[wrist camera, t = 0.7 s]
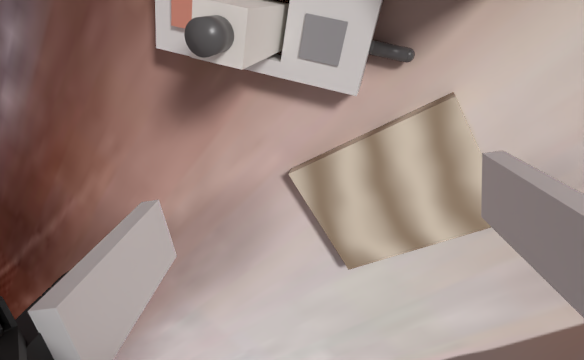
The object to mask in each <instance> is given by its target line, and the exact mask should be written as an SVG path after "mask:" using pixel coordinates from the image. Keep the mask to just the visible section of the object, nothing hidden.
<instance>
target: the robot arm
mask: <svg viewBox="0 0 584 360" xmlns="http://www.w3.org/2000/svg"><path fill="white" fill-rule="evenodd" d="M481 217H482V218H483V219H484V220H485V221H486V222H487V223H488V224H489V225H490V226H491V227H492V228H493V229H494V230H495V231H496V232H497V233H498V234H499V235H500V236H501V237H502V238H503V239H504V240H505V241H506V242H507V243H508V244H509V245H510V246H511V247H512V248H513V249H514V250H515V251H516V252H517V253H518V254H519V255H520V256H521V257H523V258H524V259H525V260H526V261H527V262H528V263H529V264H530V265H531V266H532V267H533V268H534V269H535V270H536V271H537V272H538V273H539V274H540V275H541V276H542V277H543V278H544V279H545V280H546V281H547V282H548V283H549V284H550V285H551V286H552V287H553V288H554V289H555V290H556V291H557V292H558V293H559V294H560V295H561V296H562V297H563V298H564V299H565V300H566V301H567V302H568V303H569V304H570V305H571V306H572V307H573V308H574V309H575V310H576V311H577V312H578V313H579V314H580V315H581V316H582V317H583V318H584V194H583V193H581V192H579V191H578V190H576V189H574V188H572V187H570V186H568V185H566V184H565V183H563V182H561V181H559V180H557V179H555V178H553V177H552V176H550V175H548V174H546V173H544V172H542V171H540V170H539V169H537V168H535V167H533V166H531V165H529V164H527V163H526V162H524V161H522V160H520V159H518V158H516V157H514V156H513V155H511V154H509V153H507V152H505V151H503V150H502V151H495V152H488V153H482V200H481ZM176 256H177V255H176V252H175V248H174V245H173V242H172V239H171V236H170V233H169V230H168V227H167V224H166V220H165V217H164V214H163V211H162V208H161V205H160V202H159V200H153V201H146V202H141V203H140V204H139V205H138V206H137V207H136V208H135V209H134V210H133V211H132V212H131V213H130V214H129V215H128V216H127V217H126V218H125V219H123V220H122V221H121V222H120V223H119V224H118V225H117V226H116V227H115V228H114V229H113V230H112V231H111V232H110V233H109V234H108V235H107V236H106V237H105V238H104V239H103V240H102V241H100V242H99V243H98V244H97V245H96V246H95V247H94V248H93V249H92V250H91V251H90V252H89V253H88V254H87V255H86V256H85V257H84V258H83V259H82V260H81V261H80V262H79V263H77V264H76V265H75V266H74V267H73V268H72V269H71V270H70V271H68V272H67V273H65V274H64V275H62V276H61V277H60V278H59V279H58V280H57V281H56V282H55V283H54V284H53V285H52V287H51V288H48V289H47V290H46V291H45V292H44V293H43V294H42V296H40V297H39V298H38V299H37V300H36V301H35V302H34V303H32V304H31V305H30V306H29V307H28V308H27V309H26V310H25V311H24V312H23V313H22V314H21V315H20V316H19V317H18V318H17V319H16V320H15V319H14V317H13V316H12V314H11V312H10V310H9V308H8V306H7V304H6V303H5V301H4V299H3V298H2V296H0V360H113V359H114V357H115V356H116V354H117V353H118V351H119V349H120V348H121V346H122V344H123V343H124V341H125V340H126V338H127V336H128V335H129V333H130V331H131V330H132V328H133V326H134V325H135V323H136V322H137V320H138V318H139V317H140V315H141V313H142V312H143V310H144V309H145V307H146V305H147V304H148V302H149V300H150V299H151V297H152V295H153V294H154V292H155V291H156V289H157V287H158V286H159V284H160V282H161V281H162V279H163V278H164V276H165V274H166V273H167V271H168V269H169V268H170V266H171V264H172V263H173V261H174V260H175V258H176Z"/></svg>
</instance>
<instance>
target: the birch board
mask: <svg viewBox="0 0 584 360" xmlns="http://www.w3.org/2000/svg"><path fill="white" fill-rule="evenodd" d="M288 175H289V176H290V178H291V179H292V181H293V182H294V184H295V186H296V187H297V189H298V190H299V192H300V194H301V195H302V197H303V198H304V200H305V201H306V203H307V205H308V206H309V208H310V209H311V211H312V213H313V214H314V216H315V217H316V219H317V220H318V222H319V224H320V225H321V227H322V228H323V230H324V232H325V233H326V235H327V236H328V238H329V239H330V241H331V243H332V244H333V246H334V247H335V249H336V251H337V252H338V254H339V255H340V257H341V258H342V260H343V262H344V263H345V265H346V266H347V268H348V270H349V269H352V268H356V267H359V266H363V265H366V264H369V263H373V262H376V261H379V260H383V259H386V258H390V257H393V256H396V255H400V254H403V253H406V252H410V251H413V250H417V249H420V248H423V247H427V246H430V245H433V244H437V243H440V242H444V241H447V240H450V239H454V238H457V237H460V236H464V235H467V234H471V233H474V232H477V231H481V230H484V229H487V228H491V226H490V225H489V224H488V223H487V222H486V221H485V220H484V219H483V218H482V217H481V200H482V154H481V152H480V150H479V148H478V145H477V143H476V141H475V139H474V136H473V134H472V132H471V130H470V127H469V125H468V123H467V121H466V118H465V116H464V114H463V112H462V110H461V107H460V105H459V103H458V101H457V98H456V96H455V94H454V92H453V93H451V94H448V95H446V96H444V97H442V98H440V99H438V100H436V101H434V102H431V103H429V104H427V105H425V106H423V107H421V108H419V109H417V110H414V111H412V112H410V113H408V114H406V115H404V116H402V117H400V118H398V119H395V120H393V121H391V122H389V123H387V124H385V125H383V126H381V127H378V128H376V129H374V130H372V131H370V132H368V133H366V134H364V135H361V136H359V137H357V138H355V139H353V140H351V141H349V142H347V143H345V144H342V145H340V146H338V147H336V148H334V149H332V150H330V151H328V152H325V153H323V154H321V155H319V156H317V157H315V158H313V159H311V160H308V161H306V162H304V163H302V164H300V165H298V166H296V167H294V168H292V169H291V170H290V172H289V174H288Z"/></svg>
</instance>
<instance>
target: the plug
mask: <svg viewBox="0 0 584 360" xmlns="http://www.w3.org/2000/svg"><path fill="white" fill-rule="evenodd" d="M288 9H289V4H287V3H283V2H278V1H273V0H192V19H191V20H190V21H189V22H188V23H187V25H186V28H185V33H184V36H185V41H186V44H187V46H188V48H189V49H190V51H191V58H195V59H199V60H204V61H208V62H212V63H216V64H220V65H224V66H228V67H233V68H237V69H241V70H243V69H245V68H247V67H249V66H251V65H253V64H255V63H257V62H259V61H261V60H263V59H265V58H268V57H270V56H272V55H274V54H276V53H278V52H280V51H282V49H283V43H284V36H285V29H286V22H287V16H288Z"/></svg>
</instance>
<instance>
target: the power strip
mask: <svg viewBox="0 0 584 360" xmlns="http://www.w3.org/2000/svg"><path fill="white" fill-rule="evenodd" d="M382 2H383V0H290V2H289V9H288V16H287V22H286V29H285V36H284V43H283V49H282V55H278V54H274V55H272V56H270V57H268V58H265V59H263V60H261V61H259V62H257V63H255V64H253V65H251V66H249V67H247V68H245V70H250V71H254V72H258V73H262V74H266V75H270V76H275V77H279V78H283V79H287V80H291V81H295V82H300V83H304V84H308V85H312V86H316V87H320V88H325V89H329V90H333V91H337V92H341V93H345V94H350V95H354V96H357V94H358V92H359V89H360V86H361V82H362V78H363V74H364V70H365V67H366V63H367V59H368V55H369V54H371V55H375V56H379V57H384V58H389V59H393V60H398V61H402V62H410V61H412V60H413V58H414V56H415V53H414V51H413V50H412V49H411V48H407V47H403V46H398V45H393V44H389V43H384V42H379V41H372V40H373V36H374V33H375V29H376V25H377V21H378V18H379V14H380V10H381V6H382ZM155 17H156V48H158V49H162V50H166V51H170V52H174V53H179V54H183V55H187V56H191V51H190V49H189V48H188V46H187V44H186V41H185V36H184V33H185V28H186V25H187V23H188V22H189V21H190V20H191V19H192V0H155Z"/></svg>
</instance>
